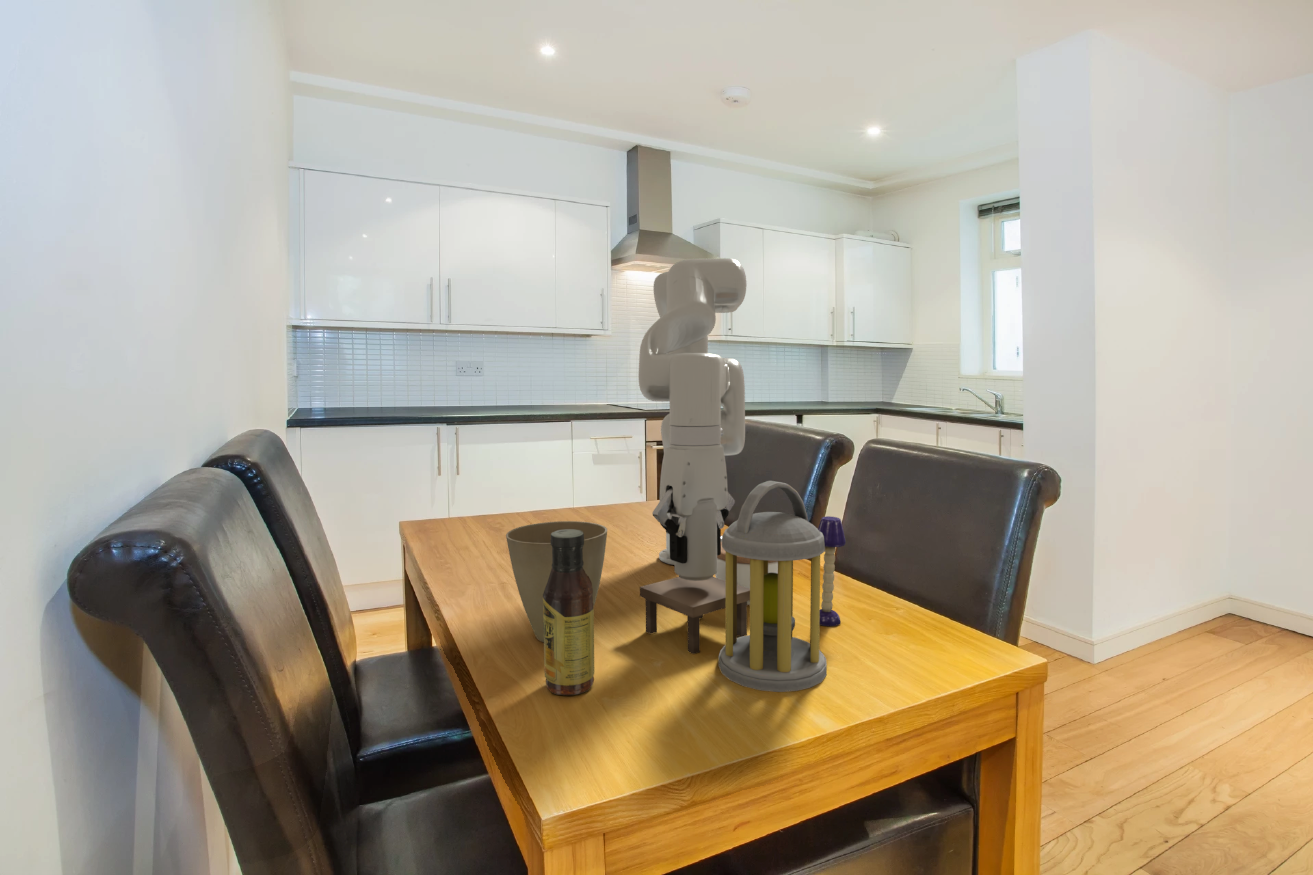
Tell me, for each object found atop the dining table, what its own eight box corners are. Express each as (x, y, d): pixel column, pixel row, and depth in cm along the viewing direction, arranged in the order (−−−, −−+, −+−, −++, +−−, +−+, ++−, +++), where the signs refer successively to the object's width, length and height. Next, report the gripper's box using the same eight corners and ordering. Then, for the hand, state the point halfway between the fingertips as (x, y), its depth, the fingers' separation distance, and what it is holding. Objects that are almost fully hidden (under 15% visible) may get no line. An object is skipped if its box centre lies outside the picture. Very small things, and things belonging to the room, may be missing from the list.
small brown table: (698, 613, 110) (698, 571, 109) (752, 635, 100) (752, 589, 100) (640, 631, 102) (639, 586, 102) (693, 656, 93) (692, 607, 92)
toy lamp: (845, 618, 107) (846, 515, 105) (843, 629, 102) (845, 521, 101) (814, 615, 108) (815, 513, 107) (811, 625, 104) (812, 519, 103)
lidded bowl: (793, 592, 120) (794, 531, 119) (775, 615, 109) (775, 548, 108) (726, 583, 126) (726, 525, 125) (702, 604, 114) (702, 541, 113)
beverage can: (714, 583, 97) (714, 501, 96) (670, 581, 98) (670, 500, 97) (719, 571, 103) (719, 493, 102) (678, 569, 104) (677, 492, 103)
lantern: (775, 638, 99) (776, 470, 97) (850, 673, 87) (853, 483, 85) (697, 660, 92) (696, 479, 89) (768, 702, 80) (769, 494, 77)
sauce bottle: (546, 676, 87) (543, 526, 85) (595, 674, 88) (592, 524, 86) (542, 701, 80) (538, 538, 79) (594, 698, 81) (592, 536, 79)
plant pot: (604, 614, 110) (602, 518, 109) (614, 650, 95) (612, 540, 94) (511, 620, 107) (508, 522, 106) (506, 658, 93) (503, 545, 91)
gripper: (719, 432, 107) (719, 543, 109) (632, 439, 96) (634, 562, 98) (754, 435, 101) (753, 552, 103) (666, 443, 90) (667, 573, 92)
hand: (695, 556), depth 100 cm, fingers closed on beverage can, 6 cm apart
